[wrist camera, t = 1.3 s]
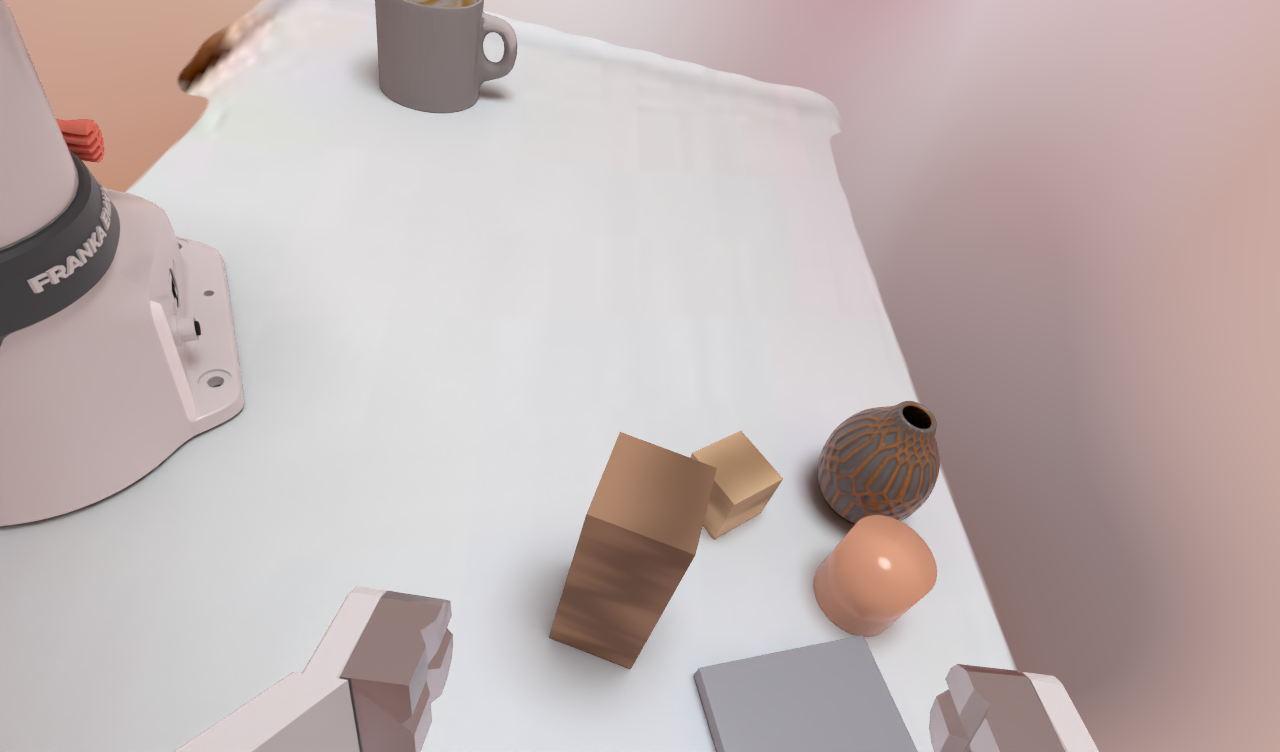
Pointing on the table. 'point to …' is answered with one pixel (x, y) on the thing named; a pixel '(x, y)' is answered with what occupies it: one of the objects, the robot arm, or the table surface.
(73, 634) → the table surface
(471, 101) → the coffee mug
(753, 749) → the grey pad
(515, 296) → the table surface
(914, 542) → the peach rounded cylinder
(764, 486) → the oak cube
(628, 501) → the walnut block
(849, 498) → the vase
